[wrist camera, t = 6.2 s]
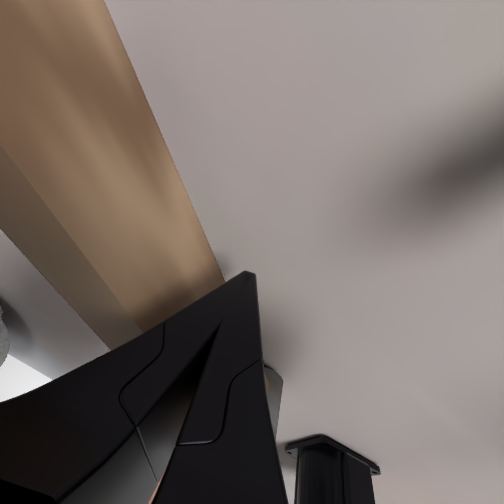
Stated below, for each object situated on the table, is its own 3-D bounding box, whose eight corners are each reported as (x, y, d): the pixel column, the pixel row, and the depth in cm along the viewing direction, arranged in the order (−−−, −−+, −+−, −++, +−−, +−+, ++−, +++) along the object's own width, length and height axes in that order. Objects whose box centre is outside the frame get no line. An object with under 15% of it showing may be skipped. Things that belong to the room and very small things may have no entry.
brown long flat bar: (286, 391, 16) (273, 511, 11) (249, 386, 17) (223, 494, 12) (137, -9, 6) (-456, -401, 2) (72, 38, 7) (-392, -99, 3)
